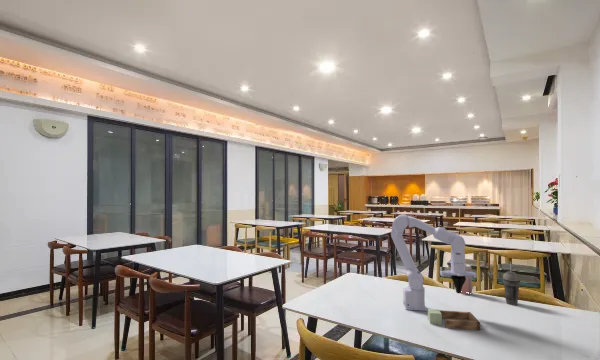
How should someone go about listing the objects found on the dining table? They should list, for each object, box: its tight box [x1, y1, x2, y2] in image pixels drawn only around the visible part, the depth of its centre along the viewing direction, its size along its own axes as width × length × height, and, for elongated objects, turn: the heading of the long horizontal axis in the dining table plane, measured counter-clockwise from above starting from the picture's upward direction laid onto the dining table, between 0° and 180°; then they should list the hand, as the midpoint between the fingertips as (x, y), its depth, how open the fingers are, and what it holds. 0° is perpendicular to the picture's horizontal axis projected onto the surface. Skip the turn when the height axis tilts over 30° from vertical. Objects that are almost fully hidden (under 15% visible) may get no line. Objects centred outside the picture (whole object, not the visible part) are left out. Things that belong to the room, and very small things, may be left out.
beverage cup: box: [502, 261, 521, 306], centre depth 152 cm, size 7×7×20 cm
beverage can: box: [460, 263, 473, 296], centre depth 166 cm, size 6×6×15 cm
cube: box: [427, 308, 443, 325], centre depth 131 cm, size 4×4×4 cm
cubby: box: [439, 309, 481, 331], centre depth 129 cm, size 13×10×3 cm
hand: (458, 292), depth 139 cm, fingers closed
